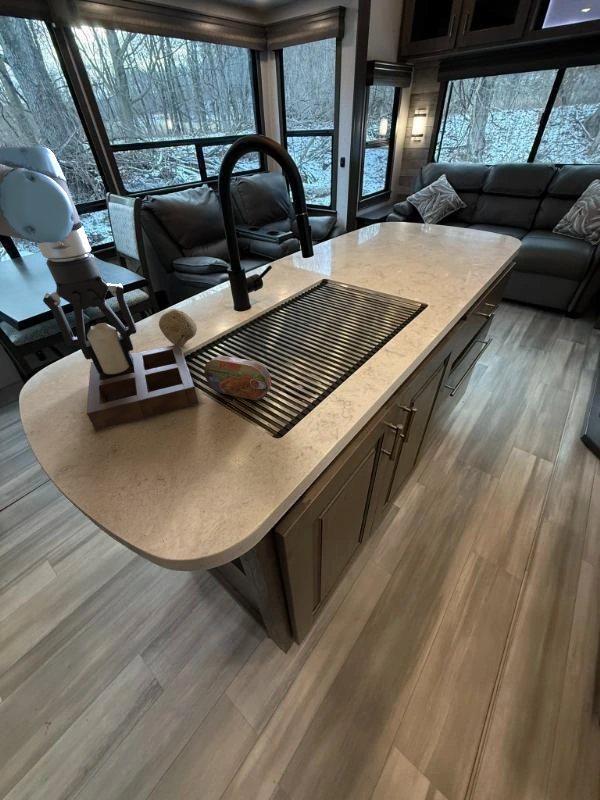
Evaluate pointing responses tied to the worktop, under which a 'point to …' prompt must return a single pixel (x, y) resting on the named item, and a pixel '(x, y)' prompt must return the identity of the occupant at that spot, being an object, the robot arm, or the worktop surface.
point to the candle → (107, 348)
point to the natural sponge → (177, 326)
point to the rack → (140, 388)
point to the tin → (238, 377)
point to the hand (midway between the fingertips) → (116, 366)
